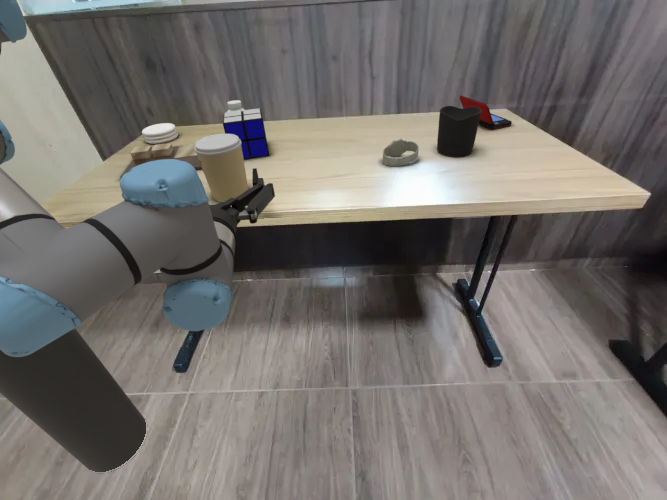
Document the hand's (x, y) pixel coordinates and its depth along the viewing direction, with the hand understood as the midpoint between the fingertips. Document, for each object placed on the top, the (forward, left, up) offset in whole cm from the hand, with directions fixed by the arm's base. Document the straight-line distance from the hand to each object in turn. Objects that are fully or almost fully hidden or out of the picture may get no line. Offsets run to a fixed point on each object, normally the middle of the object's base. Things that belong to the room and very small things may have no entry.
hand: (221, 179), depth 69 cm
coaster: (-24, +51, -7) cm, 57 cm away
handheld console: (+73, +30, -7) cm, 79 cm away
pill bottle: (+1, +46, -7) cm, 47 cm away
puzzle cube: (+4, +30, -7) cm, 31 cm away
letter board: (-17, +31, -7) cm, 36 cm away
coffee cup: (0, +6, -7) cm, 9 cm away
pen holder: (+56, +13, -7) cm, 58 cm away
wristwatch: (+41, +11, -7) cm, 43 cm away
